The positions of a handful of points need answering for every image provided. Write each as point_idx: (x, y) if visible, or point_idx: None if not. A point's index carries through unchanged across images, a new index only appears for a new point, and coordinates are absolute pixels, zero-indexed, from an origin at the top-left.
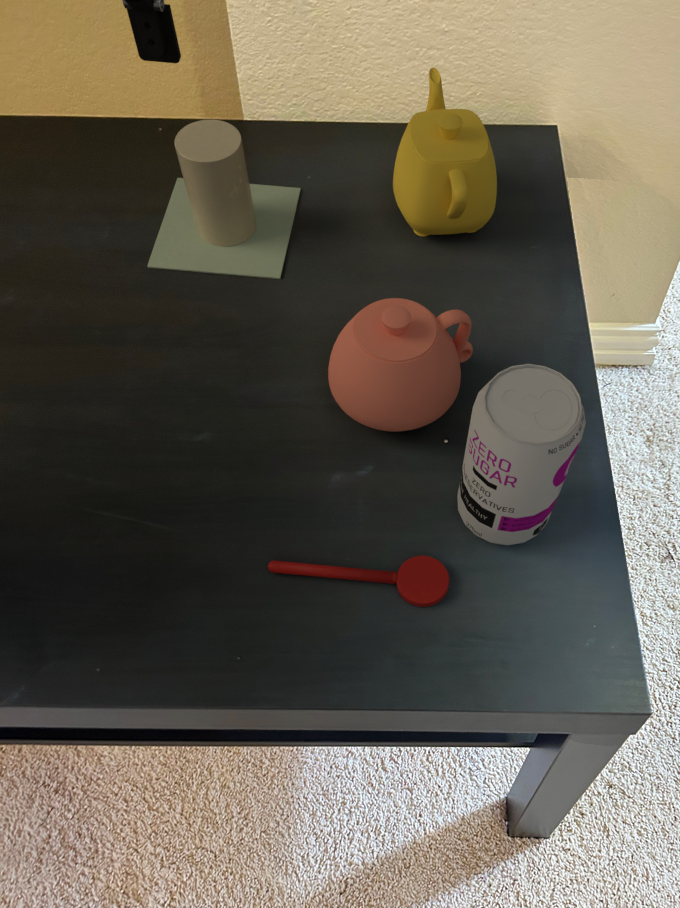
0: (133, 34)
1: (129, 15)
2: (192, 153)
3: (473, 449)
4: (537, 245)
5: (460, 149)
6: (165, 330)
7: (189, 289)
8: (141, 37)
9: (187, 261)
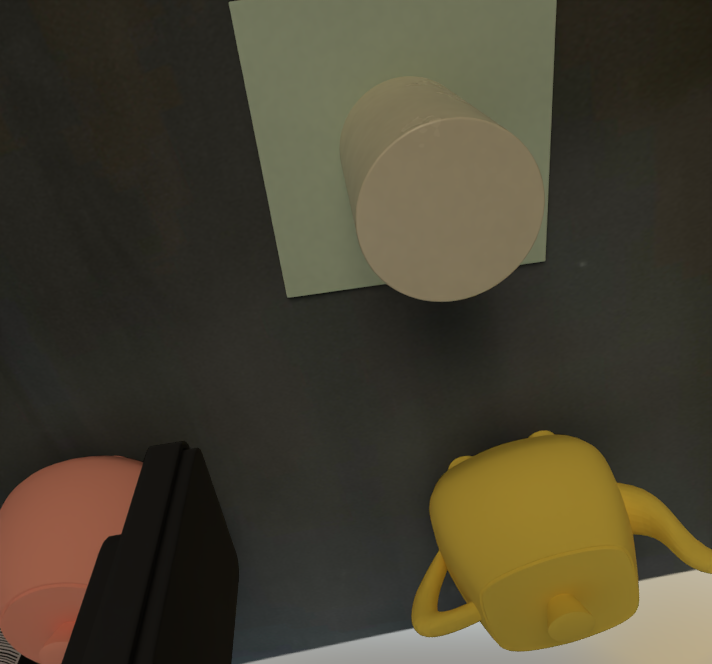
0: (124, 530)
1: (96, 633)
2: (385, 195)
3: None
4: (457, 591)
5: (521, 623)
6: (69, 122)
7: (200, 130)
8: (83, 601)
9: (274, 98)
